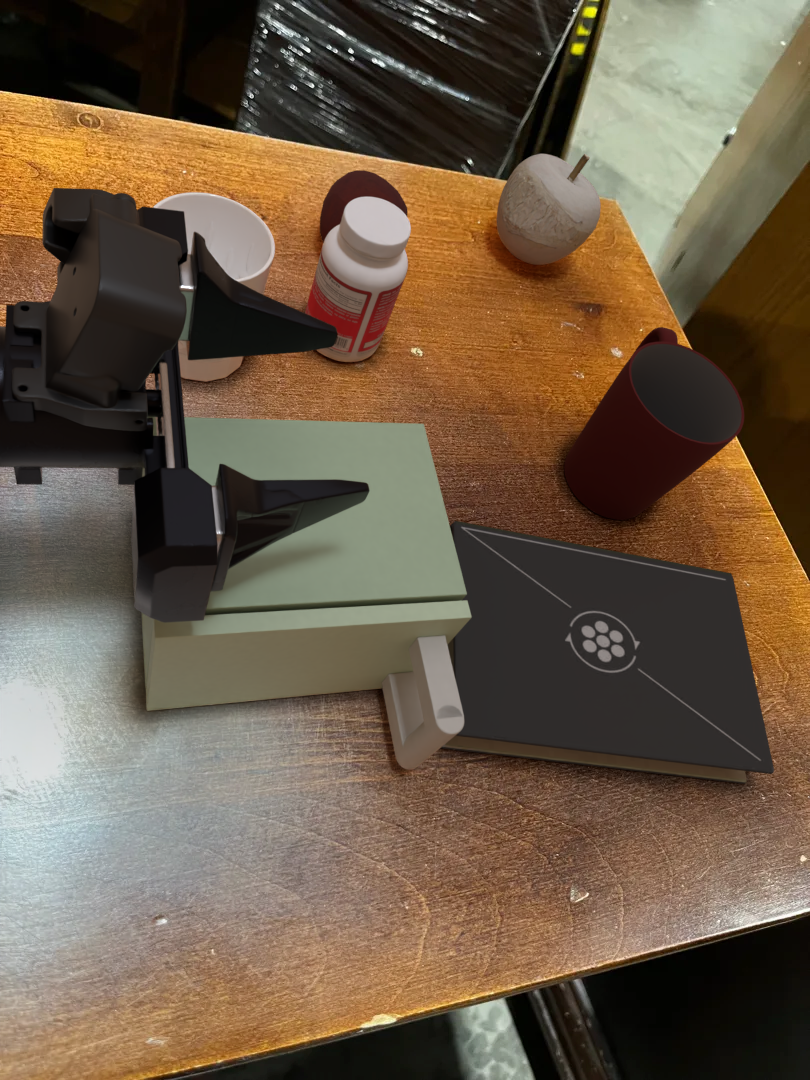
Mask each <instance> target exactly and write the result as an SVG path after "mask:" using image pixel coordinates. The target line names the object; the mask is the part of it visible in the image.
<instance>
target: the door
mask: <svg viewBox="0 0 810 1080" xmlns="http://www.w3.org/2000/svg"><path fill="white" fill-rule="evenodd" d="M471 617H472V616H471V612H470V609H469V605H468V601H467V600H464V601H446V602H429V603H411V604H394V605H376V606H359V607H341V608H324V609H306V610H289V611H271V612H254V613H236V614H219V615H205V617H204V620H202V621H184V622H166V623H164V622H161V621H158V620H155V619H154V621H153V631H152V640H151V650H150V659H149V669H148V678H147V688H146V689H145V702H146V703H145V708H146V711H147V712H150V711H151V712H152V711H159V710H161V711H162V710H169V709H170V710H171V709H181V708H192V707H200V706H201V707H202V706H213V705H222V704H223V705H224V704H233V703H243V702H255V701H265V700H274V699H285V698H295V697H307V696H317V695H327V694H339V693H348V692H358V691H369V690H378V689H379V690H380V689H382V693H383V698H384V704H385V707H386V713H387V714H386V715H387V720H388V725H389V730H390V736H391V740H392V745H393V751H394V756H395V760H396V762H397V763H398V765H399V766H400V767H401V768H403V769H404V770H415V769H417V768H418V767H419V766H421V765H422V764H423V763H424V762H425V761H427V760H428V759H429V758H430V757H431V756H433V755H434V754H435V753H436V752H438V751H439V750H440V749H442V748H441V747H442V746H443V745H445V744H446V743H447V742H448V741H449V740H451V739H452V738H453V737H454V736H455V735H457V734H458V733H459V732H460V731H461V730H462V728H463V726H464V714H463V710H462V705H461V701H460V697H459V693H458V688H457V684H456V680H455V676H454V671H453V667H452V663H451V658H450V654H449V650H448V646H447V645H448V643H449V642H450V641H451V640H452V639H453V638H454V637H455V636H456V634H457V633H458V632H459V631H460V630H461V629H462V628H463V627H464V625H465V624H466V623H467V622H468V621H469V620H470V619H471Z"/></svg>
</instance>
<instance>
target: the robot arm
mask: <svg viewBox="0 0 810 1080" xmlns="http://www.w3.org/2000/svg"><path fill="white" fill-rule="evenodd" d="M136 202H137V201H136V200H135V198H134V197H133V196H132V195H130V194H127V193H124V192H118V193H115V194H114V193H112V192H109V191H107V190H104V189H100V188H99V189H98V188H73V187H72V188H71V187H68V188H67V187H54V188H53V189H52V191H51V193H50V195H49V198H48V200H47V202H46V205H45V206H44V209H43V212H42V238H41V239H42V241H41V243H42V246H43V248H44V249H45V250H46V251H47V252H48V253H49V254H50V255H51V256H53V257H54V258H56V259H57V260H58V261H59V263H58V266H57V267H56V268H57V269H56V277H57V279H56V287H55V289H54V292H53V293H52V297H51V299H50V300H48V301H29V300H20V301H17V302H16V303H15V304H6V305H5V326H4V325H0V468H13V472H14V477H15V482H16V485H25V486H26V485H33V486H36V485H37V486H39V485H40V486H41V485H43V469H63V468H64V469H117V485H118V486H121V485H122V486H133V497H132V515H131V517H132V518H131V535H130V536H131V537H130V538H131V539H130V540H131V559H132V560H131V561H132V580H133V582H132V583H133V600H134V603H133V604H134V609H135V610H137V611H138V612H140V613H141V612H142V613H143V614H145V615H146V616H148V617H150V618H152V619H155V620H158V621H161V622H164V623H166V622H184V621H202V620H204V617H205V613H206V609H207V605H208V600H209V596H210V592H214V591H221V590H222V589H223V586H224V583H225V579H226V575H227V572H228V569H230V568H232V567H233V566H235V565H237V564H239V563H240V562H242V561H244V560H245V559H247V558H249V557H250V556H252V555H254V554H256V553H257V552H259V551H261V550H262V549H264V548H266V547H267V546H269V545H271V544H273V543H275V542H276V541H278V540H280V539H282V538H285V537H287V536H289V535H291V534H292V533H295V532H297V531H300V530H302V529H304V528H306V527H309V526H311V525H313V524H315V523H317V522H320V521H322V520H324V519H326V518H329V517H331V516H333V515H335V514H338V513H340V512H342V511H344V510H346V509H349V508H351V507H353V506H355V505H358V504H360V503H362V502H363V501H365V499H366V498H367V496H368V494H369V491H370V490H369V485H368V484H367V483H365V482H357V481H348V480H336V479H331V480H255V479H252V478H250V477H248V476H246V475H244V474H242V473H240V472H238V471H236V470H234V469H232V468H230V467H229V466H227V465H225V464H219V469H218V474H217V479H216V484H215V485H210V484H209V483H208V482H206V481H205V480H204V479H203V478H201V477H200V476H199V475H197V474H196V473H195V472H193V471H192V470H191V469H190V468H189V465H188V453H187V442H186V430H185V419H184V417H185V409H184V397H183V386H182V377H181V373H180V361H179V349H178V341H186V346H187V357H188V360H203V359H216V358H228V357H242V356H244V357H254V356H268V355H279V354H280V355H282V354H294V353H296V354H297V353H306V352H312V351H317V350H318V349H324V348H329V347H332V346H334V344H335V342H336V339H337V336H338V333H337V329H336V327H335V326H333V325H330V324H328V323H326V322H324V321H321V320H319V319H317V318H315V317H312V316H310V315H308V314H306V313H305V312H303V311H301V310H298V309H296V308H294V307H292V306H290V305H288V304H285V303H283V302H281V301H278V300H276V299H274V298H272V297H269V296H267V295H265V294H264V295H263V294H261V293H259V292H257V291H255V290H253V289H251V288H249V287H247V286H245V285H243V284H242V283H240V282H238V281H236V280H234V279H233V278H231V277H230V276H229V275H228V274H227V273H226V272H225V271H224V270H223V268H222V267H221V266H220V265H219V263H218V262H217V261H216V260H215V258H214V257H213V256H212V255H211V253H210V252H209V251H208V249H207V247H206V243H205V239H204V238H203V237H202V236H201V235H200V234H199V233H197V232H194V233H193V239H192V248H191V254H188V245H187V235H186V226H185V216H184V211H177V210H168V209H160V208H153V206H152V207H151V206H141V207H139V208H138V209H137V203H136ZM151 374H152V383H153V389H151V388H147V379H148V377H149V376H150V375H151ZM148 417H156V430H157V436H153V418H148ZM143 468H145V476H143V477H142V474H143Z"/></svg>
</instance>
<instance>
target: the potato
mask: <svg viewBox="0 0 810 1080" xmlns="http://www.w3.org/2000/svg"><path fill="white" fill-rule="evenodd" d="M359 197H376V198H380V199H383V200H386V201H388V202H390V203H392V204H394V205H395V206H397V207H398V208H399V209H401V210H402V211H403V212H404V214H405V215H406V216H407V217H408V207H407V205H406V202H405V200H404V199H403V197H402V195H401V193H400V192H399V191H398V189H396V187H394V186H393V185H392V183H390V182H389V181H388V180H387V179H385V178H384V177H383V176H380V175H378V174H377V173H376V172H372V171H369V170H365V169H364V170H362V169H361V170H360V169H359V170H357V169H355V170H352V171H349V172H347V173H345V174H344V175H342V176H341V177H340V178H337V179H336V180H335V181H334V182H333V184H332V185H331V186H330V188H329V189H328V191H327V193H326V195H325V197H324V200H323V202H322V207H321V212H320V215H319V235H320V238H321V242H322V244H323V243H324V240H325V238H326V236H327V234H328V233H329V232H330V231H331V230H332V229H333V228H334V227H336V226H337V225H339V224H340V223H341V220H342V216H343V213H344V209H345V207H346V205H347V204H348V203H349V202H350V201H352V200H353V199H356V198H359Z"/></svg>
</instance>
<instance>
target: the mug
mask: <svg viewBox="0 0 810 1080" xmlns="http://www.w3.org/2000/svg"><path fill="white" fill-rule="evenodd" d="M678 339H679V338H678V335H677V333H676V331H674V329H671V328H668V327H663V326H659V327H655V328H653V329H652V330H651V331H650V332H649V333H648V334H646V336H645V337H644V338H643V340H642V341H641V342H640V343H639V345H638V346H637V347H636V349H635V350H634V352H633V353H632V355H631V356H630V357H629V359H628V361H626V363H625V364H624V366H623V367H622V368H621V370H620V371H619V373H618V374H617V375H616V377H615V378H614V380H613V381H612V383H611V385H610V386H609V387H608V389H607V390H606V392H605V394H604V396H602V398H601V400H600V402H599V403H598V404H597V406H596V408H595V410H594V411H593V412H592V414H591V415H590V417H589V419H588V420H587V422H586V424H585V425H584V427H583V429H582V430H581V431H580V433H579V434H578V436H577V438H576V440H575V441H574V443H573V444H572V446H571V447H570V449H569V450H568V453H567V454H566V456H565V458H564V459H565V460H564V463H563V464H564V468H563V469H564V471H563V472H564V476H565V480H566V483H567V485H568V487H569V488H570V490H571V492H572V493H573V495H574V496H575V497H576V498H577V500H578V501H579V502H580V503H581V504H582V505H583V506H584V507H586V508H587V509H588V510H590V511H591V512H593V513H595V514H597V515H598V516H601V517H603V518H607V519H612V520H614V521H615V520H616V521H623V520H630V519H633V518H636V517H637V516H639V515H640V514H641V513H643V512H644V511H646V510H647V509H648V508H649V507H651V506H652V505H653V504H655V503H656V502H658V501H659V500H660V499H661V498H663V497H664V496H665V495H667V494H668V493H669V492H670V491H672V490H673V489H674V488H676V487H677V486H678V485H679V484H681V483H682V482H683V481H684V480H686V479H687V478H689V477H690V476H691V475H693V473H695V472H696V471H697V470H698V469H700V468H702V466H704V465H705V464H707V462H709V461H710V460H711V459H713V457H715V456H716V455H717V454H718V453H720V452H721V451H722V450H723V449H724V448H725V447H726V446H727V445H729V444H730V443H731V442H733V440H734V439H735V438H736V437H737V436H738V435H739V434H740V432H741V431H742V428H743V426H744V423H745V409H744V405H743V400H742V398H741V396H740V394H739V392H738V389H737V388H736V386H735V385H734V383H733V381H732V380H731V379H730V377H729V376H728V375H727V374H726V373H725V372H724V371H723V370H722V369H721V368H720V367H719V366H718V365H717V364H716V363H715V362H714V361H712V360H711V359H709V358H708V357H707V356H705V355H704V354H702V353H700V352H698V351H696V350H694V349H692V348H690V347H689V346H686V345H682V344H680V343H679V341H678Z"/></svg>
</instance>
